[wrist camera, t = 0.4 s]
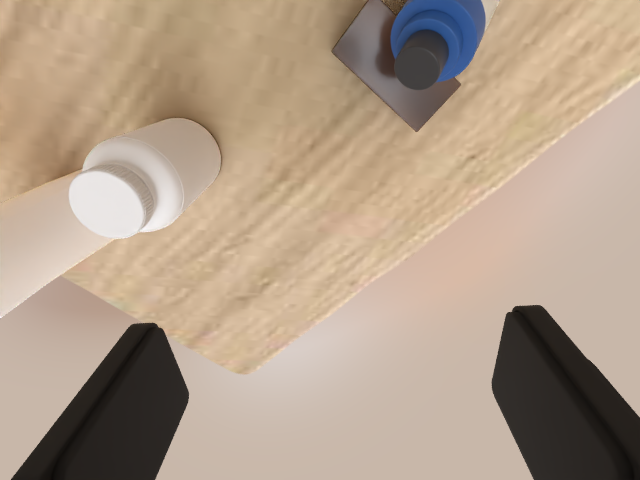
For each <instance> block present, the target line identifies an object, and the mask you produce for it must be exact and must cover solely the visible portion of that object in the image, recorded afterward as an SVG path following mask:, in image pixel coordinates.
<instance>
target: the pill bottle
mask: <svg viewBox="0 0 640 480" xmlns="http://www.w3.org/2000/svg"><path fill="white" fill-rule="evenodd" d="M220 167H221V155H220V150H219V147H218V145H217V143H216V141H215V139H214V138H213V136H212V135H211V134H210V133H209V132H208V131H207V130H206V129H205V128H204V127H203V126H201V125H200V124H198V123H196V122H194V121H192V120H188V119H184V118H170V119H165V120H162V121H159V122H156V123H153V124H151V125H148V126H145V127H142V128H139V129H136V130H133V131H130V132H127V133H124V134H121V135H118V136H115V137H112V138H109V139H107V140H104V141H102V142H101V143H99V144H97V145H96V146H95V147H94V148H93V149H92V150H91V151H90V153H89V154H88V156H87V157H86V159H85V162H84V164H83V169H82V172H81V173H79V174H78V175H77V176H75V178H74V180H72V183H71V184H70V187H69V202H70V206H71V208H72V210H73V212H74V214H75V215H76V217H77V218H78V219H79V221H80V222H81V223H82V224H83V225H85V226H86V227H87V228H88V229H90V230H91V231H93V232H95V233H96V234H99V235H101V236H104V237H107V238H113V239H123V238H128V237H131V236H133V235H135V234H137V233H138V232H151V231H156V230H159V229H162V228H165V227H167V226H168V225H170V224H171V223H173V222H174V221H175V220H176V219H177V218H178V217H179V216H180V215H181V214H182V213H183V212H184V211H185V210H186V209H187V208H188V207H189V206H190V205H191V204H192V203H193V202H194V201H195V200H196V199H197V198H198V197H199V196H200V195H201V194H202V193H203V192H204V191H205V190H206V189H207V188H208V187H209V186H210V185H211V184H212V183H213V182H214V181H215V179H216V177H217V176H218V174H219V171H220Z"/></svg>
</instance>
